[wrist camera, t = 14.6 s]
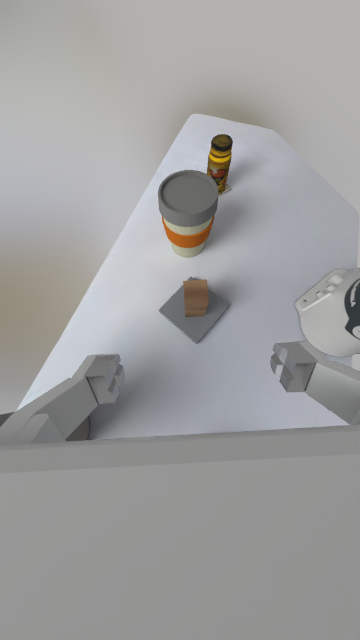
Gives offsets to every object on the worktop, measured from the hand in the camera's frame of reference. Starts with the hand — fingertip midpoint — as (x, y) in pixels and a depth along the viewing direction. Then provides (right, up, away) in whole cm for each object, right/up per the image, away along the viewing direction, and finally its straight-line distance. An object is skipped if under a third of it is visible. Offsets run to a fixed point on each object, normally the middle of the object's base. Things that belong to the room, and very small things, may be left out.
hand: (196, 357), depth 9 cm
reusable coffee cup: (+1, +23, +40) cm, 46 cm away
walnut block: (+3, +5, +33) cm, 33 cm away
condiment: (+10, +44, +46) cm, 65 cm away
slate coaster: (+3, +4, +34) cm, 34 cm away
